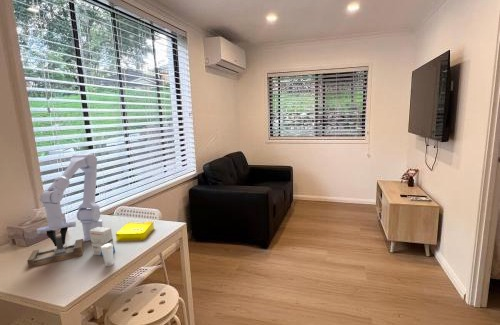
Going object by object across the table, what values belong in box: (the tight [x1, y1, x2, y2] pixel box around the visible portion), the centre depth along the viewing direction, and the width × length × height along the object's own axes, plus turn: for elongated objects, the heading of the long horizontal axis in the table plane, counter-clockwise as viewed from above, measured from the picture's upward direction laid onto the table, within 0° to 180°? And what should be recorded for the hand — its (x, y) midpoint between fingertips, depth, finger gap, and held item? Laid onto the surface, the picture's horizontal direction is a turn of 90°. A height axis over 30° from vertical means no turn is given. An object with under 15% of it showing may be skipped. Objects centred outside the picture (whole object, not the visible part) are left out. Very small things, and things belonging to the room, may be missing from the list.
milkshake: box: [98, 243, 115, 267], centre depth 119 cm, size 4×5×10 cm
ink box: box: [89, 226, 116, 256], centre depth 129 cm, size 9×5×12 cm, turn 71°
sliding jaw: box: [54, 235, 68, 255], centre depth 129 cm, size 4×6×7 cm, turn 26°
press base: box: [27, 238, 85, 268], centre depth 129 cm, size 20×10×4 cm, turn 116°
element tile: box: [115, 221, 155, 242], centre depth 149 cm, size 15×15×5 cm
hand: (60, 244), depth 129 cm, fingers closed on sliding jaw, 2 cm apart
